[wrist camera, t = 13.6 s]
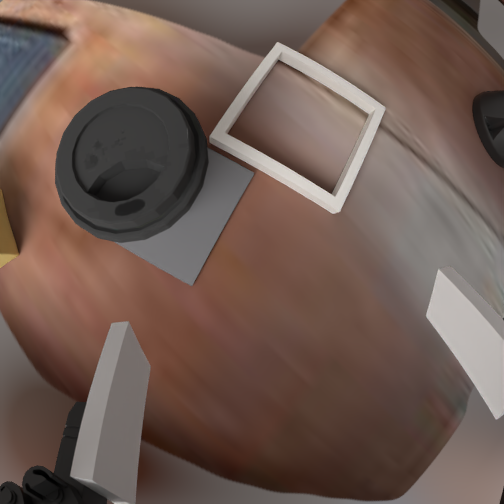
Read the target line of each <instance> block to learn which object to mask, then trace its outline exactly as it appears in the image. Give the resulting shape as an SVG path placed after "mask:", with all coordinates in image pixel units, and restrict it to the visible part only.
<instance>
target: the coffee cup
mask: <svg viewBox="0 0 504 504" xmlns="http://www.w3.org/2000/svg"><path fill="white" fill-rule="evenodd" d="M208 163H209V160H208V149H207V138H206V136H205V134H204V132H203V130H202V128H201V125H200V123H199V121H198V119H197V117H196V115H195V114H194V113H193V112H192V111H191V110H190V109H189V108H188V107H187V106H186V105H185V104H184V103H183V102H182V101H181V100H180V99H179V98H177V97H175V96H173V95H171V94H169V93H167V92H164V91H162V90H160V89H155V88H145V87H127V88H122V89H118V90H113V91H109V92H107V93H105V94H103V95H101V96H99V97H97V98H96V99H94V100H92V101H90V102H89V103H88V104H87V105H86V106H85V107H84V108H83V109H81V110H80V111H79V112H78V113H77V114H76V115H75V116H74V118H73V119H72V121H71V122H70V124H69V125H68V127H67V128H66V130H65V131H64V133H63V136H62V139H61V142H60V145H59V148H58V151H57V157H56V167H55V184H56V187H57V191H58V194H59V197H60V201H61V204H62V206H63V207H64V209H65V210H66V211H67V213H68V214H69V215H70V217H71V218H72V219H73V221H74V222H75V223H76V224H77V225H79V226H80V227H81V228H83V229H85V230H86V231H88V232H89V233H91V234H92V235H94V236H95V237H97V238H100V239H104V240H109V241H114V242H119V243H125V242H133V241H140V240H146V239H148V238H150V237H153V236H155V235H157V234H159V233H161V232H163V231H165V230H167V229H169V228H170V227H172V226H173V225H174V224H175V223H176V222H177V221H178V220H179V219H180V218H181V217H182V216H183V215H184V214H186V213H187V212H188V211H189V210H190V208H191V206H192V205H193V203H194V201H195V200H196V198H197V196H198V194H199V193H200V191H201V189H202V188H203V184H204V180H205V176H206V172H207V167H208Z"/></svg>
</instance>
